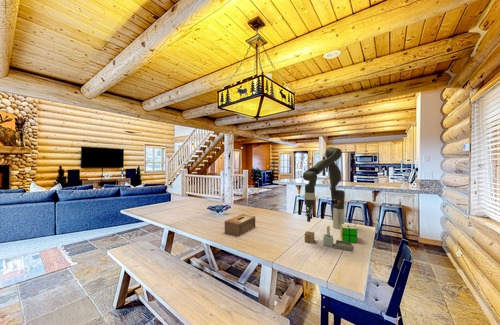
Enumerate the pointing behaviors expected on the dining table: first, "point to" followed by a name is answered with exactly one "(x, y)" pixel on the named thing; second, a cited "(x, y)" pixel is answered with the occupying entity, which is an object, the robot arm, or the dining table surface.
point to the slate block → (328, 240)
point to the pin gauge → (328, 231)
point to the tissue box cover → (239, 224)
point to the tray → (343, 245)
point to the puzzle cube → (348, 233)
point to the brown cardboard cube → (309, 237)
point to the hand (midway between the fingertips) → (309, 220)
